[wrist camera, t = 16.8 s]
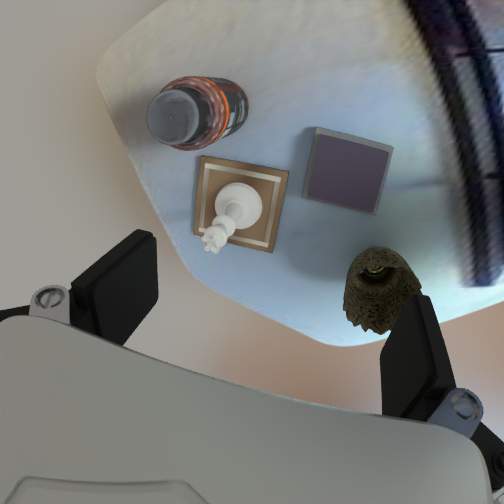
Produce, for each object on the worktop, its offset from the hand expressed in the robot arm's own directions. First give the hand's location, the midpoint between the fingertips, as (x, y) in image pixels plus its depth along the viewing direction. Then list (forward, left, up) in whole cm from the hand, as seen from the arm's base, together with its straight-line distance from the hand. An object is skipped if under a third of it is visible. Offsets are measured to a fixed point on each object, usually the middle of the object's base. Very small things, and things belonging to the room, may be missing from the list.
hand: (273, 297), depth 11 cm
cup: (-9, +9, -22) cm, 26 cm away
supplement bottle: (+9, -4, -22) cm, 25 cm away
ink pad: (-4, 0, -22) cm, 23 cm away
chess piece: (+6, +6, -22) cm, 23 cm away
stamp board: (+6, +6, -22) cm, 24 cm away
